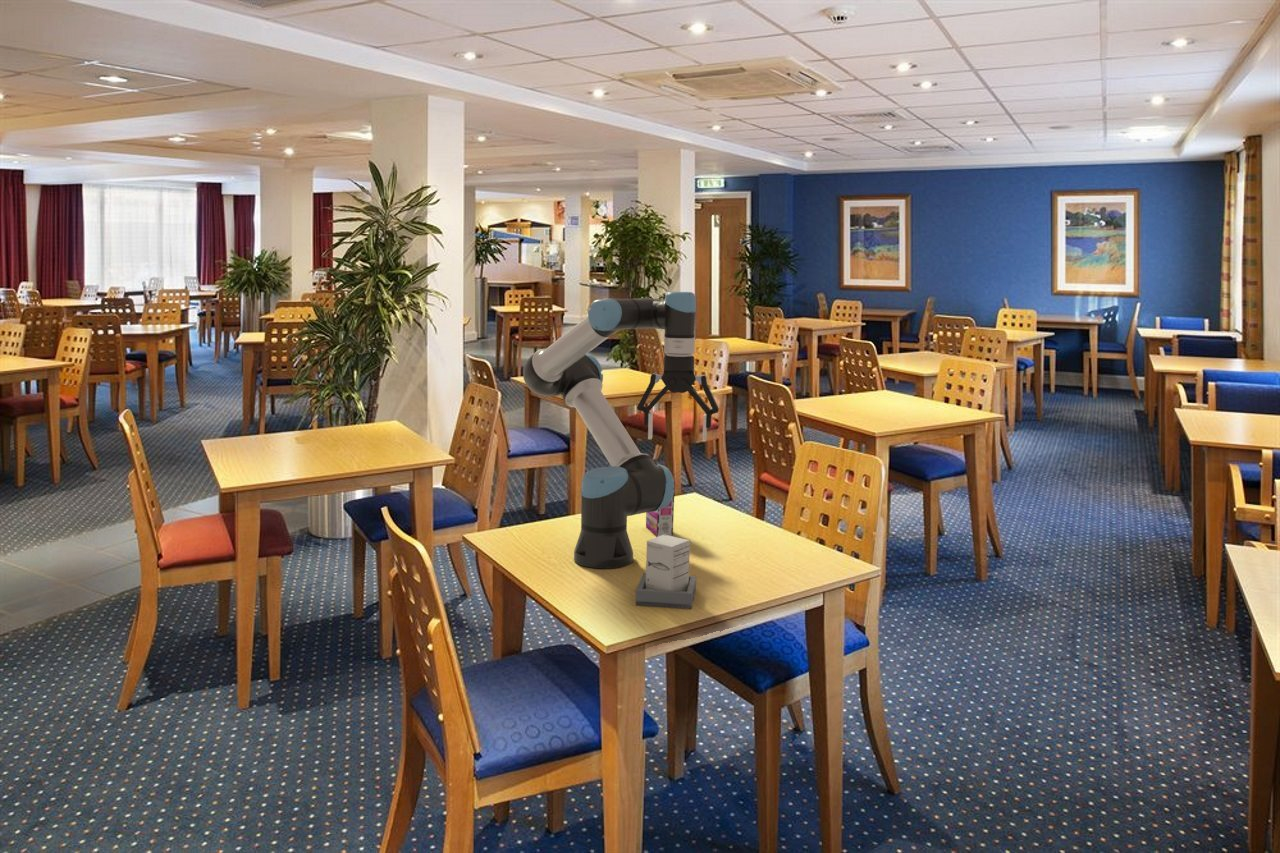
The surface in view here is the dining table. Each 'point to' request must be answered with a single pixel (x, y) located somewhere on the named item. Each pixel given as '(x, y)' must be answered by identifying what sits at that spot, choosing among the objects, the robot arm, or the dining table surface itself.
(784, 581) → the dining table surface
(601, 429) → the robot arm
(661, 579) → the supplement box
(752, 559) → the dining table surface
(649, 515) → the candy bar box
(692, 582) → the dock tray
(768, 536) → the dining table surface
